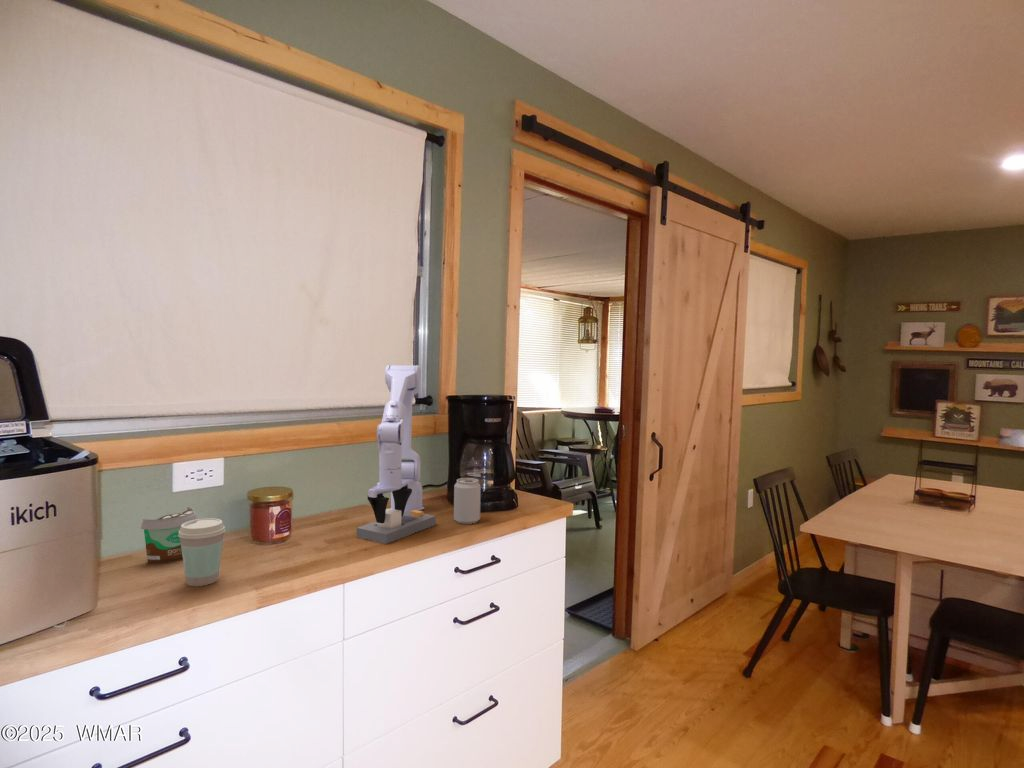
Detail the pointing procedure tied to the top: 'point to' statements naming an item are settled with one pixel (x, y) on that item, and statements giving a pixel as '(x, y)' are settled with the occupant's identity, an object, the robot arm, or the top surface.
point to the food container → (165, 536)
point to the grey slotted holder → (409, 525)
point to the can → (467, 500)
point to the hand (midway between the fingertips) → (390, 519)
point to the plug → (391, 519)
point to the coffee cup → (201, 550)
